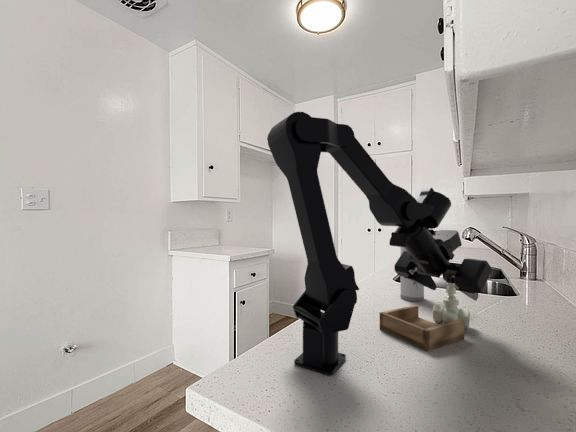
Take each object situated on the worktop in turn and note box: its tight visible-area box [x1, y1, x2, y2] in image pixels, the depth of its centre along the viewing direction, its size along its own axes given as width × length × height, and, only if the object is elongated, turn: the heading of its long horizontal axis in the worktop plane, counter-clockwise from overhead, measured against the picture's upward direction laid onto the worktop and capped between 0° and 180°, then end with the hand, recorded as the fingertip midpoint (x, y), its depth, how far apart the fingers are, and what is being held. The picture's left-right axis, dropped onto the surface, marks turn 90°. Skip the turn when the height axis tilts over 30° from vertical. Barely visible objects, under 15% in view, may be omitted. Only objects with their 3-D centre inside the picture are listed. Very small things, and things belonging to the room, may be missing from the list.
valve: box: [432, 273, 471, 329], centre depth 62 cm, size 7×7×12 cm
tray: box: [379, 304, 465, 352], centre depth 57 cm, size 11×11×4 cm
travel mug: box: [399, 247, 425, 302], centre depth 83 cm, size 6×7×20 cm
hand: (454, 293), depth 62 cm, fingers open, 9 cm apart
